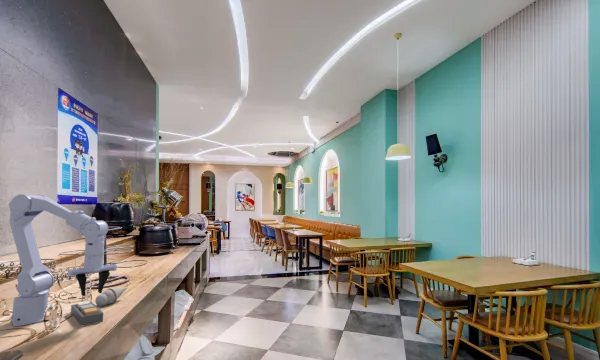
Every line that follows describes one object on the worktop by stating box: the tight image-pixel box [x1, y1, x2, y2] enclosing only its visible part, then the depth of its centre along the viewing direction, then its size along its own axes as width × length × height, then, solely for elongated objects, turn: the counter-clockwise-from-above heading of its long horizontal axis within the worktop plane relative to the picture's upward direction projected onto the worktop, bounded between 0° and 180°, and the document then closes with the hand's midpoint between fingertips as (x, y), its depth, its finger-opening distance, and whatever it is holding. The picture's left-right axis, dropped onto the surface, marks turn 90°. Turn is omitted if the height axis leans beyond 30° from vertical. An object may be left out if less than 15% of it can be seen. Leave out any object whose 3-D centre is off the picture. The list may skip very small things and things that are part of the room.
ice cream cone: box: [94, 286, 129, 307], centre depth 135 cm, size 6×6×15 cm
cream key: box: [76, 300, 91, 308], centre depth 121 cm, size 4×4×1 cm
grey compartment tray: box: [70, 301, 104, 327], centre depth 118 cm, size 6×16×3 cm, turn 45°
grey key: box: [80, 304, 94, 311], centre depth 118 cm, size 4×4×1 cm
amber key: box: [83, 307, 98, 315], centre depth 114 cm, size 4×4×1 cm
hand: (91, 293), depth 115 cm, fingers open, 4 cm apart
